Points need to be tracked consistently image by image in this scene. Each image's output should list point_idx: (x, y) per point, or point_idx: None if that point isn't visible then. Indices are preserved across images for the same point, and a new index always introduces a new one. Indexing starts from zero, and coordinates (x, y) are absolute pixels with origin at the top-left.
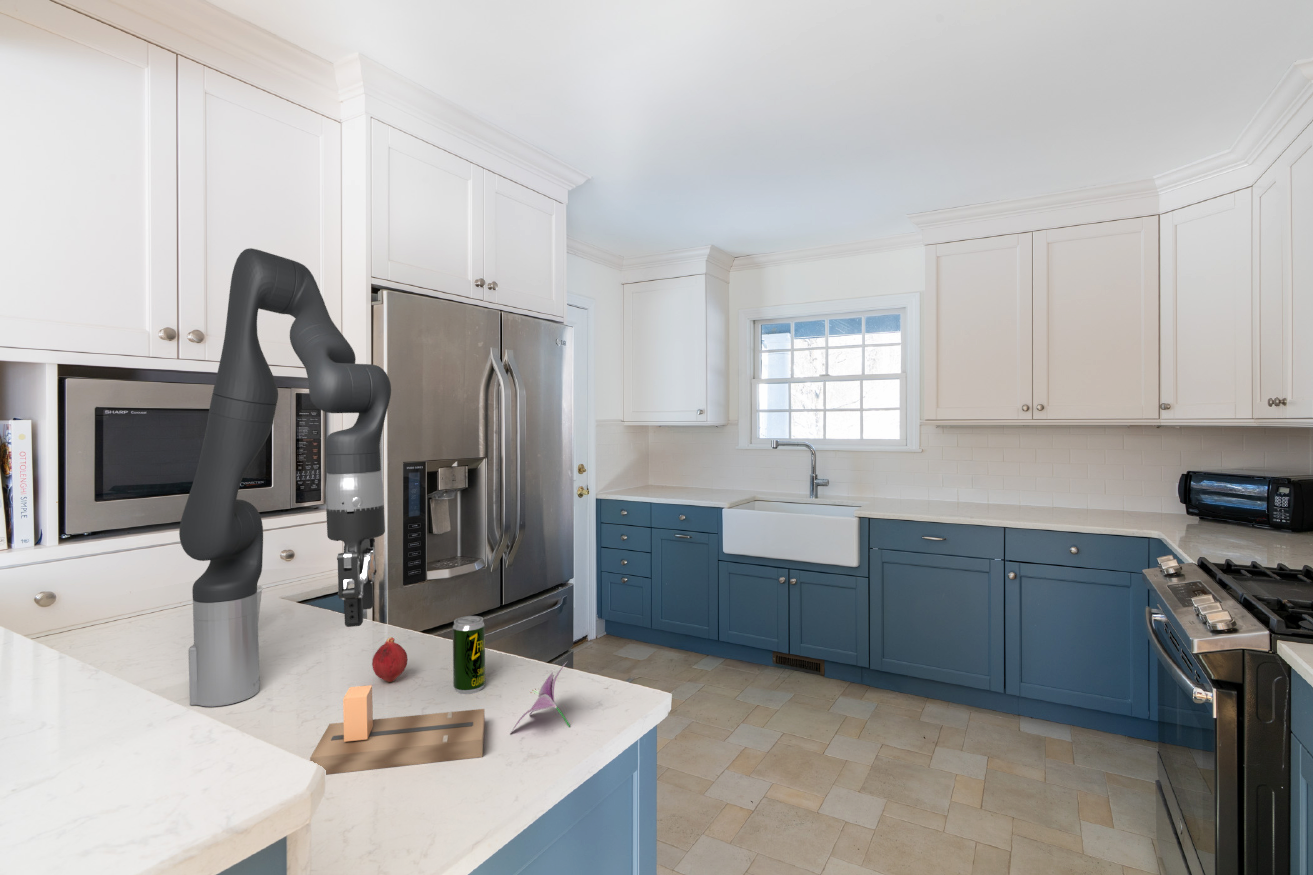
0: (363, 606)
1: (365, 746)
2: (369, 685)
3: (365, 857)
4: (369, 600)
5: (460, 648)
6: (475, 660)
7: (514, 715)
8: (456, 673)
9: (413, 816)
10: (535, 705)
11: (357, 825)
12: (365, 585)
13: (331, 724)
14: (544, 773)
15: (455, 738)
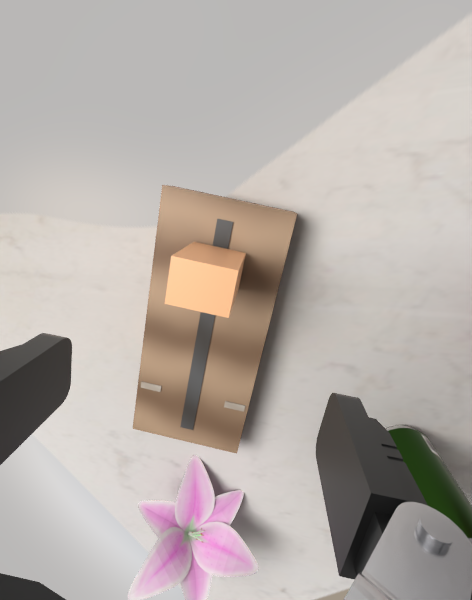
0: (325, 422)
1: None
2: (229, 312)
3: None
4: (323, 467)
5: None
6: None
7: (251, 474)
8: (401, 451)
9: (24, 316)
10: (162, 518)
11: (20, 253)
12: (352, 536)
13: (292, 217)
14: (79, 460)
15: (147, 398)
